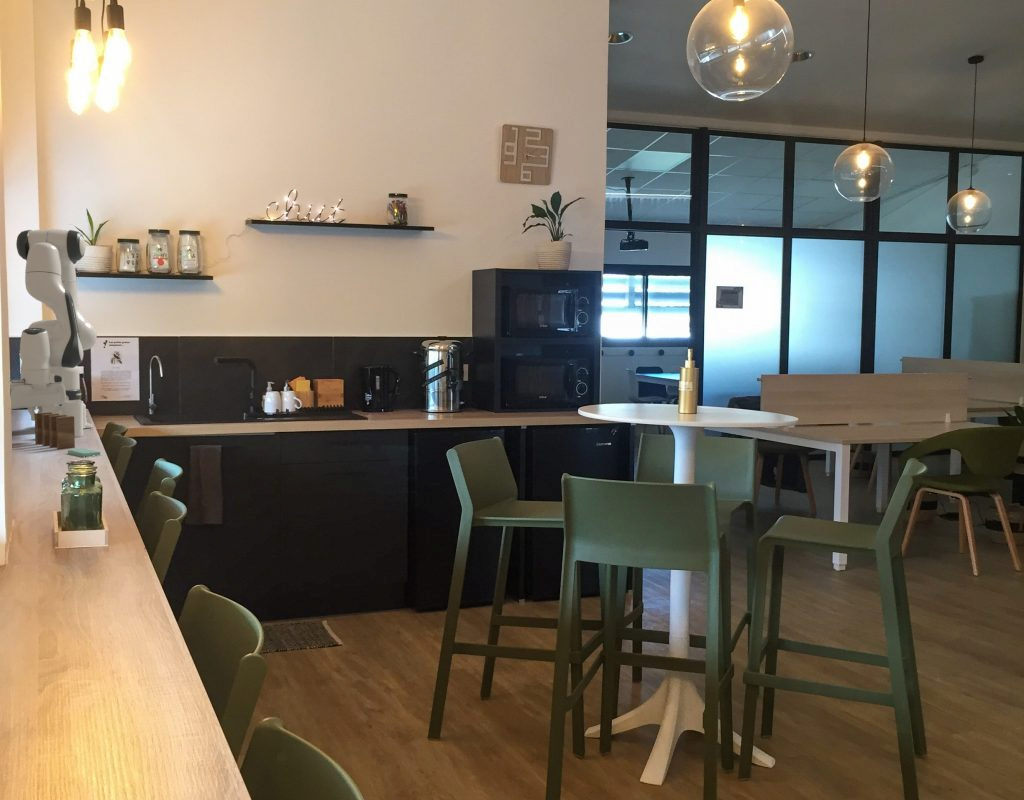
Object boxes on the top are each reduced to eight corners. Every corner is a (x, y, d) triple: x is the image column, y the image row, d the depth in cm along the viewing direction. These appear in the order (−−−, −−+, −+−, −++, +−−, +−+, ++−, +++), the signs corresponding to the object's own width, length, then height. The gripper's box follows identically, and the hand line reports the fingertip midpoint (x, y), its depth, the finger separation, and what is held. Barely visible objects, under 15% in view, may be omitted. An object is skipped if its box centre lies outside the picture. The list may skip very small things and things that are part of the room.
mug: (84, 434, 353) (83, 400, 352) (83, 437, 347) (83, 402, 345) (52, 435, 349) (51, 400, 348) (51, 438, 343) (50, 402, 342)
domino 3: (49, 447, 323) (48, 415, 322) (64, 445, 327) (64, 414, 326) (52, 447, 322) (51, 416, 321) (67, 446, 326) (66, 415, 325)
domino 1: (35, 444, 329) (34, 413, 328) (50, 442, 333) (49, 412, 332) (37, 444, 328) (37, 413, 327) (52, 443, 332) (52, 412, 331)
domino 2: (42, 445, 326) (41, 414, 325) (57, 444, 330) (56, 413, 329) (45, 446, 325) (44, 415, 324) (60, 444, 329) (59, 413, 328)
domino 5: (67, 449, 312) (84, 453, 305) (83, 448, 315) (100, 451, 309) (68, 455, 312) (84, 458, 305) (83, 453, 316) (100, 457, 309)
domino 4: (57, 448, 321) (56, 417, 320) (72, 447, 324) (71, 415, 323) (59, 449, 320) (58, 417, 319) (74, 447, 323) (74, 416, 322)
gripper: (13, 380, 320) (14, 424, 322) (68, 376, 338) (69, 418, 340) (0, 379, 323) (1, 422, 324) (55, 375, 341) (56, 416, 343)
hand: (36, 420), depth 332 cm, fingers closed
